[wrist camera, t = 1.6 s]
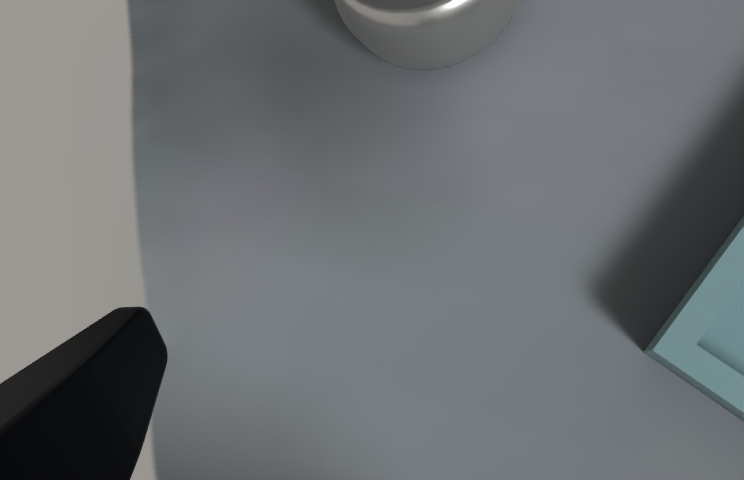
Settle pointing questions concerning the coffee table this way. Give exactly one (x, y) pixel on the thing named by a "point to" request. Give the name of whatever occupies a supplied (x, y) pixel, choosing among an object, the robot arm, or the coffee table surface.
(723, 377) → the tray
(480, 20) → the plastic bottle
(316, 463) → the coffee table surface
